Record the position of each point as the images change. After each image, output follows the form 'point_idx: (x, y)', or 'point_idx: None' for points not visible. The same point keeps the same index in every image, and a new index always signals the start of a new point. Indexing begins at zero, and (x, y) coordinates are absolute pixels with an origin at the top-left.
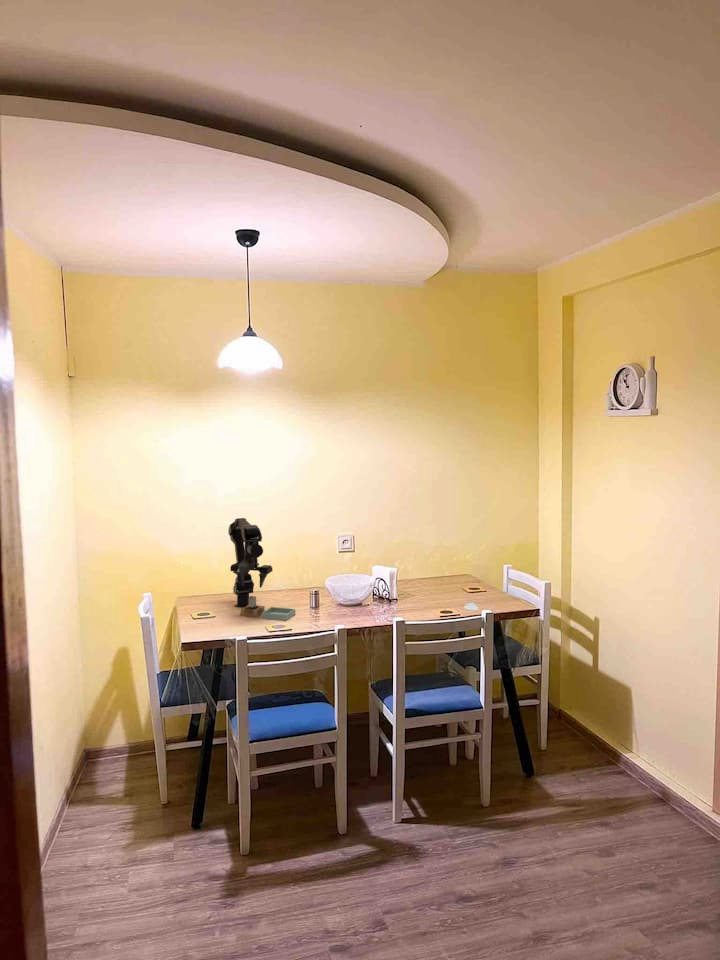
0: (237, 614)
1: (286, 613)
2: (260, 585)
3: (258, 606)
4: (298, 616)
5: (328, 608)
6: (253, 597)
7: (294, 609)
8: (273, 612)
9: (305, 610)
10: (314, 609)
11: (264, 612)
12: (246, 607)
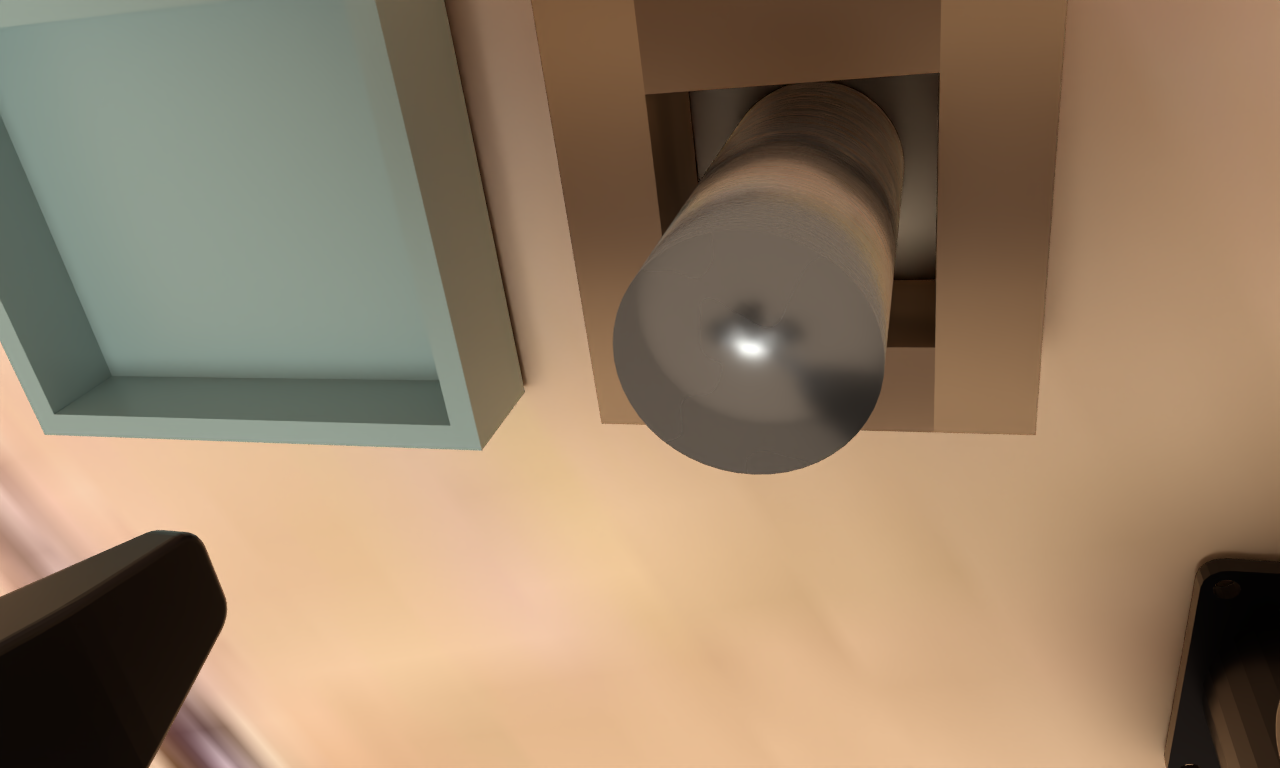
0: (1223, 41)
1: (199, 346)
2: (47, 583)
3: None
4: None
5: None
6: (679, 325)
7: (31, 405)
8: (426, 337)
9: None
10: None
11: (362, 46)
12: (977, 191)
